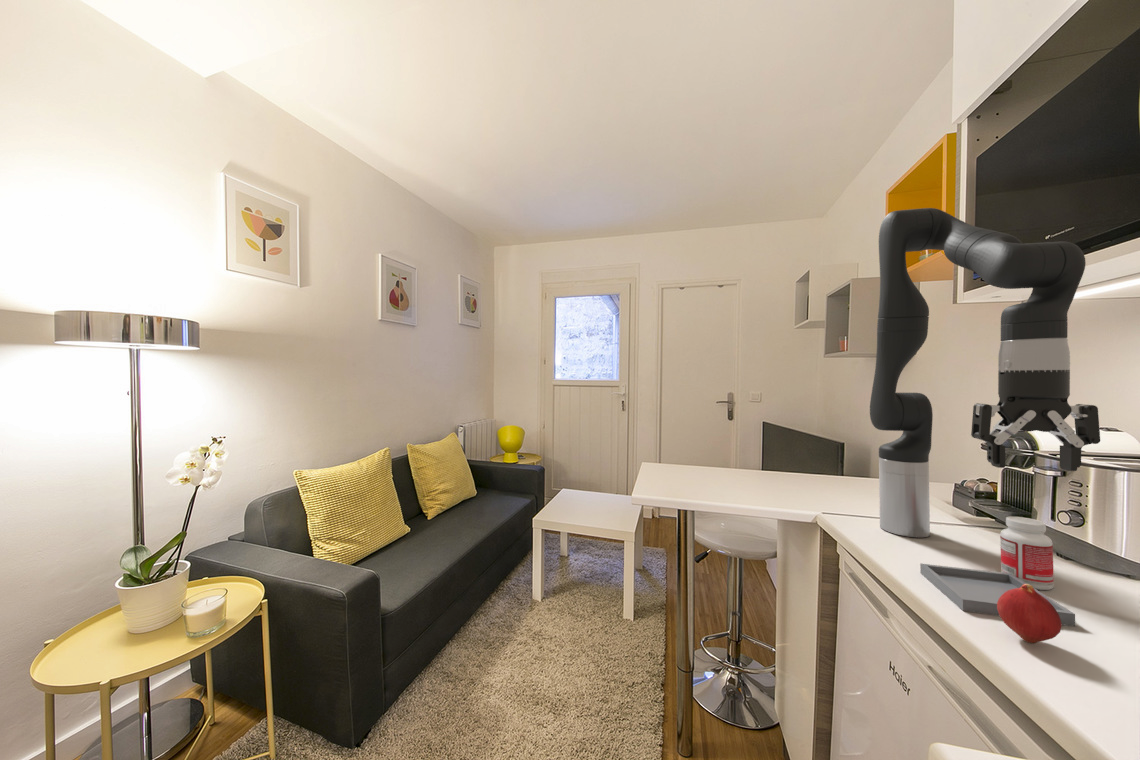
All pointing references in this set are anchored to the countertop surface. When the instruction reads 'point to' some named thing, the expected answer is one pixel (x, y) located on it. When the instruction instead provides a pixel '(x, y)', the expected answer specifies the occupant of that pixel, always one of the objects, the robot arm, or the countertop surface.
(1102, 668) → the countertop surface
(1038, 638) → the onion
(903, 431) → the robot arm
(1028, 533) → the pill bottle
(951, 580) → the slate dish
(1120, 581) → the countertop surface
